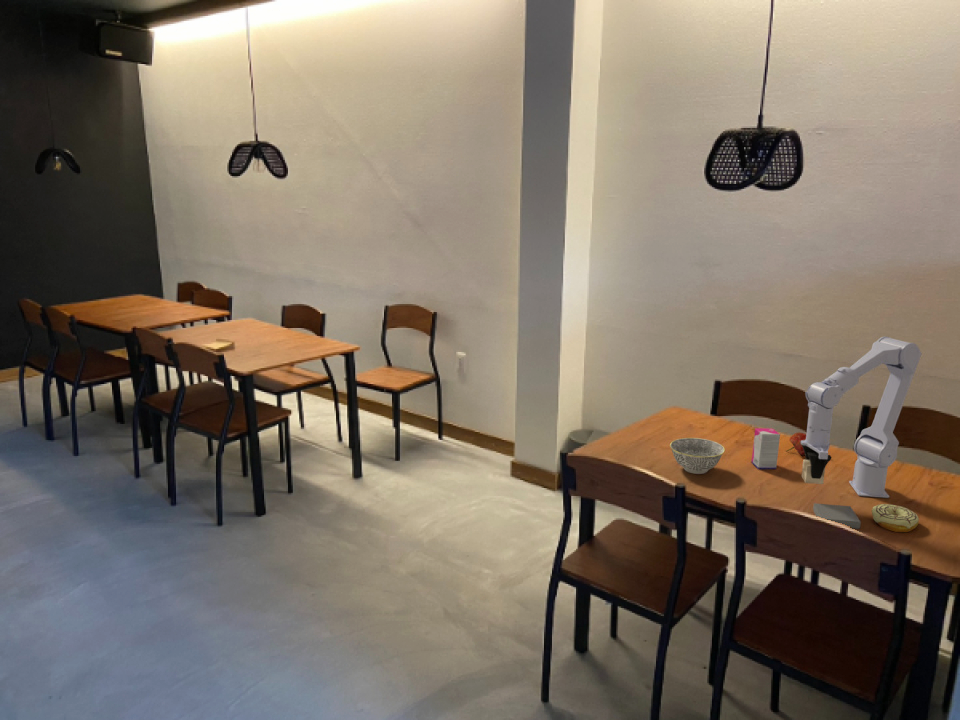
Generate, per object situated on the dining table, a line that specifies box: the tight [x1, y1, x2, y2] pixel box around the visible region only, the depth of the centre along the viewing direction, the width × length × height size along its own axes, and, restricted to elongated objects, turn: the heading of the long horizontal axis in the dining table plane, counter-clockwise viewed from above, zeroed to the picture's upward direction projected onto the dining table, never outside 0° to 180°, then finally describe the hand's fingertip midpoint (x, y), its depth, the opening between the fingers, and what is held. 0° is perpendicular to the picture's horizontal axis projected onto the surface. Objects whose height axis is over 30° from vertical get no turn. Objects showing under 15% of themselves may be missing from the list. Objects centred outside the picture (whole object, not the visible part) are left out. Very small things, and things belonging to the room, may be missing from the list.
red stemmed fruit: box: [785, 431, 807, 456], centre depth 229 cm, size 7×7×10 cm
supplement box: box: [750, 427, 781, 470], centre depth 219 cm, size 6×6×12 cm
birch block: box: [801, 459, 826, 485], centre depth 194 cm, size 4×4×5 cm
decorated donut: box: [871, 503, 920, 533], centre depth 183 cm, size 10×11×4 cm
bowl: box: [669, 437, 726, 475], centre depth 217 cm, size 16×16×8 cm
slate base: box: [812, 502, 862, 530], centre depth 185 cm, size 9×9×2 cm
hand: (813, 474), depth 194 cm, fingers closed on birch block, 4 cm apart
